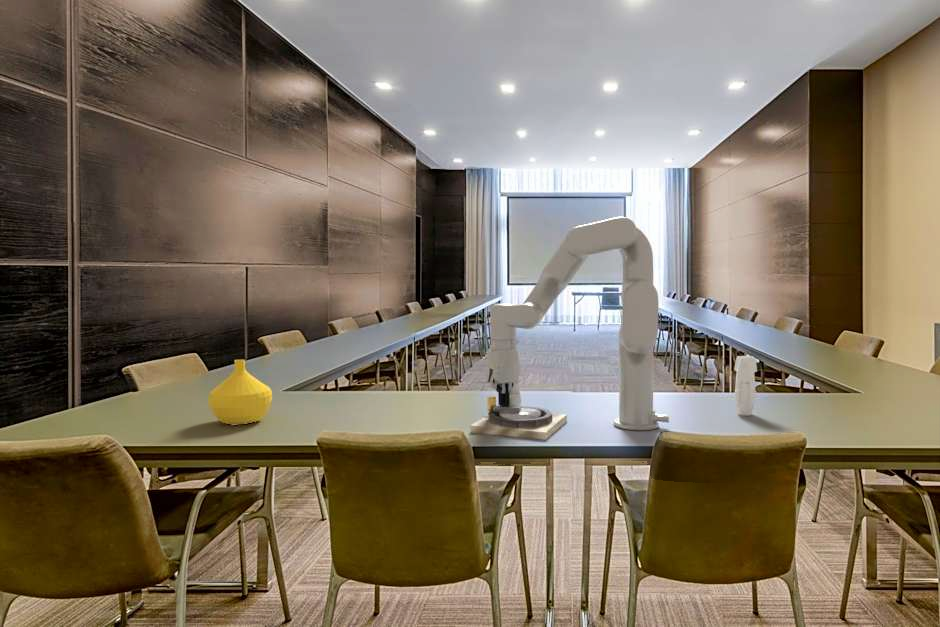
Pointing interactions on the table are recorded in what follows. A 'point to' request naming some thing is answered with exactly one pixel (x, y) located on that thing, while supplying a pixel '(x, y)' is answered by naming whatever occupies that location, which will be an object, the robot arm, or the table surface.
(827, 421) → the table surface
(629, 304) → the robot arm
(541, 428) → the dial plate
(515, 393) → the plastic bottle
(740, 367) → the flashlight
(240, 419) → the vase
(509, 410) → the dial
